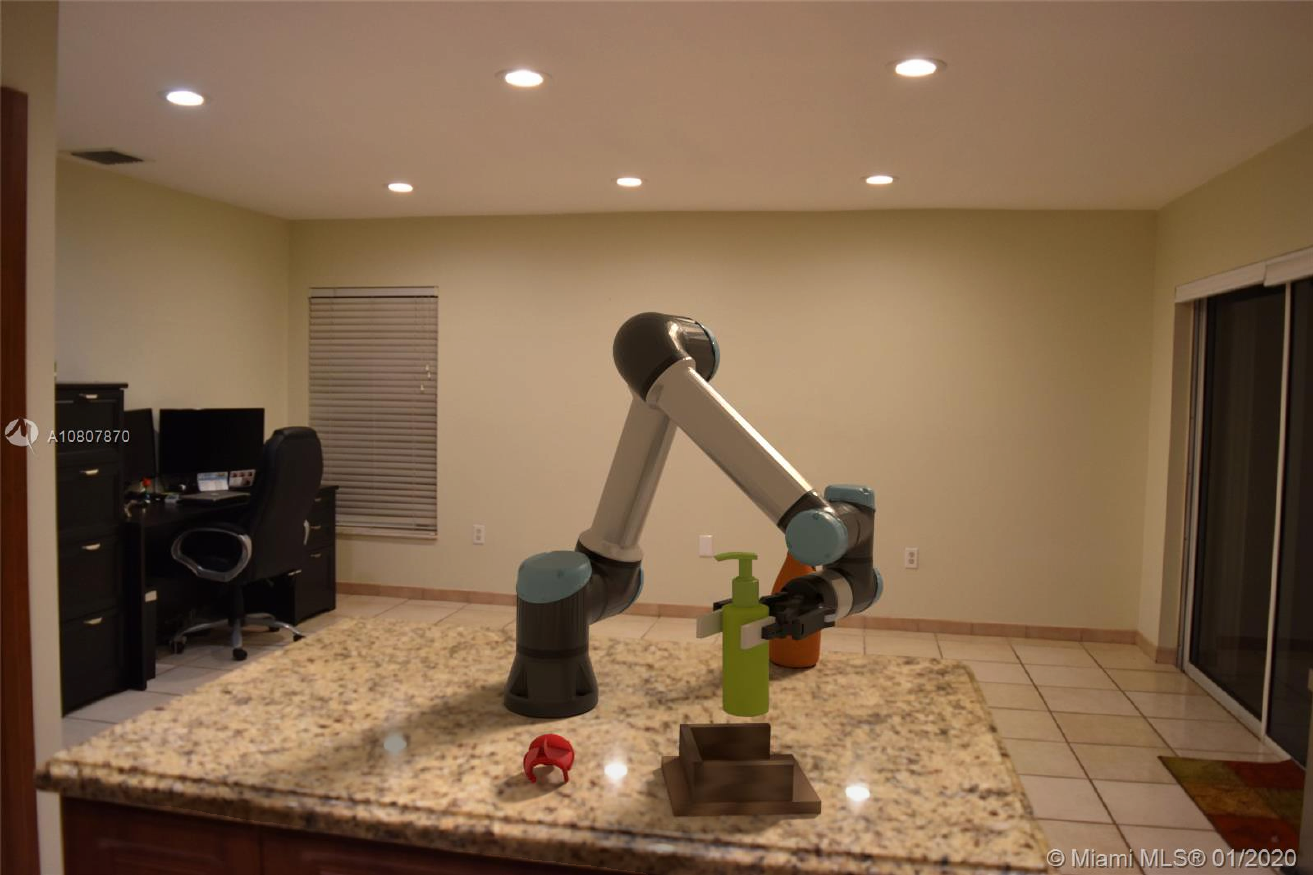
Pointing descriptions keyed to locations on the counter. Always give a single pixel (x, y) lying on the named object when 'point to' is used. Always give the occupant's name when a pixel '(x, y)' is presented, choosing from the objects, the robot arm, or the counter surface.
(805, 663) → the wine bottle
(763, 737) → the u rest
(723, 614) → the soap dispenser
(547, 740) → the cap
